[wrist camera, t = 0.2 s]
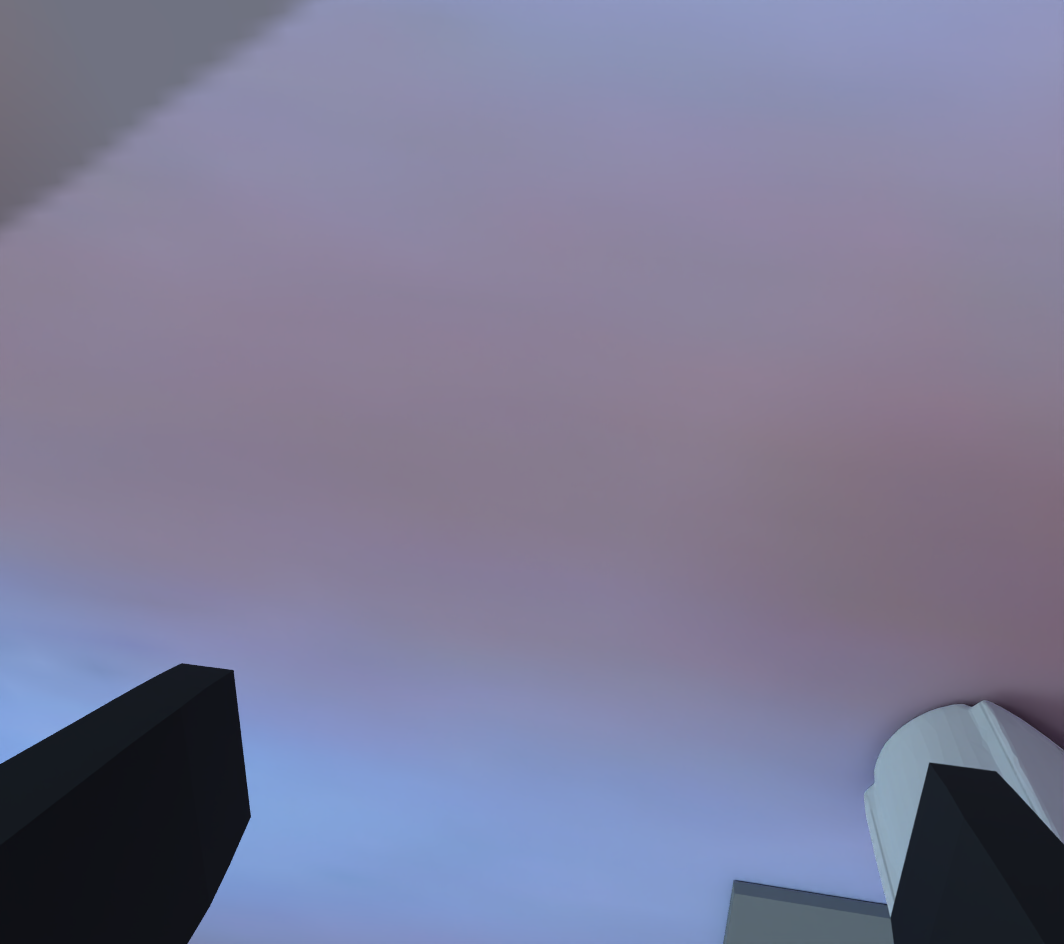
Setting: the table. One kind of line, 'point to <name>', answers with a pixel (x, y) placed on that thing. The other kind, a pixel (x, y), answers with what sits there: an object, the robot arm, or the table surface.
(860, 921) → the mat
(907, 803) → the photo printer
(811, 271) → the table surface
